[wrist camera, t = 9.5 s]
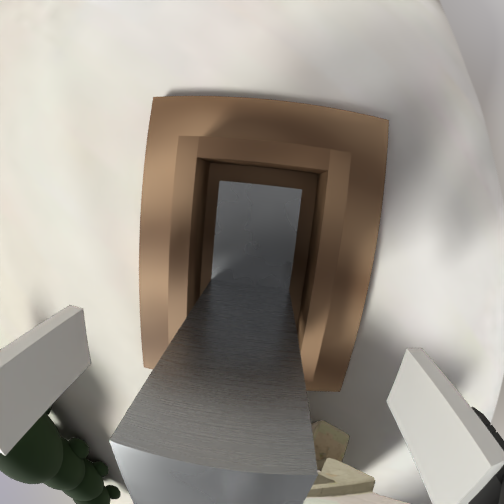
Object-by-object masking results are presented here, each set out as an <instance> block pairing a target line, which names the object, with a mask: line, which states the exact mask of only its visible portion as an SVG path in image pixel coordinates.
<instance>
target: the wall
mask: <svg viewBox="0 0 504 504" xmlns="http://www.w3.org/2000/svg"><path fill="white" fill-rule="evenodd" d="M311 426H312V433H313V440H314V448H315V455H316V463H317V471H318V476H317V478H316V480H315V482H314V484H313V486H312V487H311V489H310V491H309V493H308V495H307V497H306V499H305V500H304V502H303V504H409V503H406V502H402V501H399V500H395V499H392V498H388V497H385V496H380V495H378V494H377V493H373V492H372V491H373V488H374V484H375V480H374V478H373V477H372V476H369V475H367V474H366V473H363V472H362V471H360V470H356V468H353V467H352V466H349V465H347V464H343V463H342V460H343V457H344V454H345V451H346V447H347V444H348V441H349V435H348V434H347V433H345V432H343V431H342V430H340V429H338V428H336V427H335V426H333V425H331V424H329V423H327V422H325V421H324V420H321V421H318V422H315V423H313V424H311Z"/></svg>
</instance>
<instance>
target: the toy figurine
mask: <svg viewBox="0 0 504 504" xmlns="http://www.w3.org/2000/svg"><path fill="white" fill-rule="evenodd" d="M50 411H51V406H50V407H49V408H48V409H47V410H46V411H45V413H44V414H43V415H42V416H41V417H40V418H39V419H38V420H37V421H36V422H35V423H34V425H33V426H32V427H31V428H30V429H29V430H28V431H27V432H26V433H25V434H24V436H23V437H22V438H21V439H20V440H19V441H18V442H17V443H16V445H15V446H14V447H13V448H12V449H11V450H10V451H9V452H8V454H7V455H6V456H4V455H3V454H2V453H0V471H1V472H3V473H4V474H5V475H7V476H8V477H10V478H12V479H14V480H17V481H20V482H23V483H27V484H39V483H44V484H46V485H47V486H49V487H51V488H53V489H57V490H62V491H63V492H64V493H65V494H67V495H68V496H70V497H71V498H73V500H74V502H75V503H76V504H110V498H111V499H118V498H119V497H120V491H119V489H118V488H117V487H116V486H113V485H107V486H106V487H105V486H104V482H103V478H102V477H104V476H106V475H107V474H108V466H107V465H105V464H104V463H103V462H101V461H97V462H94V463H92V462H91V461H89V460H88V459H86V457H87V456H88V454H89V447H88V445H87V444H86V443H85V441H84V440H81V439H78V438H71V439H70V440H69V441H68V440H66V439H64V438H62V437H60V434H59V432H58V430H57V428H56V426H55V425H54V423H53V421H52V420H51V419H50V418H49V416H48V414H49V413H50Z"/></svg>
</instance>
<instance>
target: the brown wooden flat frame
mask: <svg viewBox="0 0 504 504" xmlns="http://www.w3.org/2000/svg"><path fill="white" fill-rule="evenodd" d="M388 127H389V120H386V119H382V118H378V117H374V116H369V115H365V114H360V113H356V112H351V111H346V110H340V109H335V108H329V107H323V106H317V105H311V104H304V103H296V102H288V101H279V100H269V99H258V98H244V97H223V96H167V97H153V103H152V109H151V116H150V122H149V129H148V137H147V145H146V154H145V163H144V174H143V185H142V199H141V216H140V243H139V295H140V322H141V339H142V352H143V364H144V367H145V368H149V369H154V367H155V366H156V364H157V363H158V361H159V360H160V358H161V356H162V355H163V353H164V352H165V350H166V349H167V347H168V345H169V344H170V342H171V341H172V339H173V338H174V336H175V335H176V333H177V331H178V330H179V328H180V327H181V325H182V324H183V322H184V321H185V319H186V317H187V316H188V314H189V313H190V311H191V310H192V308H193V307H194V305H195V304H196V302H197V301H198V299H199V297H200V296H201V294H202V293H203V291H204V290H205V288H206V287H207V285H208V284H209V282H210V281H211V276H212V262H213V249H214V236H215V225H216V213H217V202H218V192H219V182H220V181H229V182H240V183H251V184H260V185H269V186H278V187H287V188H295V189H302V195H301V204H300V212H299V220H298V228H297V236H296V244H295V251H294V258H293V266H292V273H291V280H290V286H289V291H290V296H291V302H292V307H293V313H294V319H295V324H296V330H297V336H298V342H299V348H300V354H301V360H302V366H303V373H304V379H305V386H306V391H333V392H340V390H341V387H342V384H343V381H344V378H345V374H346V371H347V368H348V365H349V361H350V358H351V354H352V351H353V347H354V344H355V340H356V336H357V333H358V329H359V325H360V321H361V317H362V313H363V308H364V304H365V300H366V295H367V291H368V286H369V281H370V276H371V271H372V266H373V260H374V255H375V249H376V243H377V237H378V231H379V224H380V217H381V209H382V201H383V193H384V183H385V173H386V161H387V147H388Z"/></svg>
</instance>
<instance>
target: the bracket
mask: <svg viewBox="0 0 504 504" xmlns="http://www.w3.org/2000/svg"><path fill="white" fill-rule="evenodd" d="M301 195H302V189H295V188H287V187H278V186H269V185H260V184H251V183H240V182H229V181H220V182H219V192H218V202H217V213H216V225H215V236H214V249H213V262H212V276H211V281H210V282H209V284H208V285H207V287H206V288H205V290H204V291H203V293H202V294H201V296H200V297H199V299H198V301H197V302H196V304H195V305H194V307H193V308H192V310H191V311H190V313H189V314H188V316H187V317H186V319H185V321H184V322H183V324H182V325H181V327H180V328H179V330H178V331H177V333H176V335H175V336H174V338H173V339H172V341H171V342H170V344H169V345H168V347H167V349H166V350H165V352H164V353H163V355H162V356H161V358H160V360H159V361H158V363H157V364H156V366H155V367H154V369H153V371H152V372H151V374H150V375H149V377H148V379H147V380H146V382H145V383H144V385H143V387H142V388H141V390H140V391H139V393H138V395H137V396H136V398H135V399H134V401H133V403H132V404H131V406H130V407H129V409H128V411H127V412H126V414H125V415H124V417H123V419H122V420H121V422H120V424H119V425H118V427H117V429H116V430H115V432H114V433H113V435H112V437H111V438H110V440H109V441H110V444H111V447H112V450H113V453H114V456H115V459H116V461H117V464H118V467H119V469H120V472H121V475H122V477H123V480H124V482H125V484H126V487H127V489H128V491H129V494H130V496H131V498H132V500H133V503H134V504H303V502H304V500H305V499H306V497H307V495H308V493H309V491H310V489H311V487H312V486H313V484H314V482H315V480H316V478H317V476H318V471H317V463H316V455H315V448H314V440H313V433H312V426H311V419H310V412H309V405H308V399H307V392H306V386H305V379H304V373H303V366H302V360H301V354H300V348H299V342H298V336H297V330H296V324H295V319H294V313H293V307H292V302H291V296H290V291H289V286H290V280H291V273H292V266H293V258H294V251H295V244H296V236H297V228H298V220H299V212H300V204H301Z"/></svg>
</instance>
